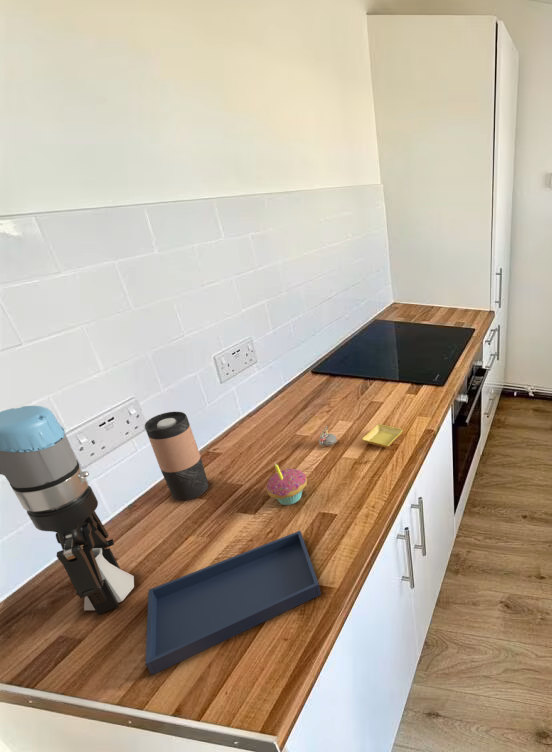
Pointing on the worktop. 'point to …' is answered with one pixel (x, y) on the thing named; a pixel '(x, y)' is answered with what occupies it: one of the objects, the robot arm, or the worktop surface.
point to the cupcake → (286, 485)
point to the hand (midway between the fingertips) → (110, 592)
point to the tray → (226, 600)
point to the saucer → (382, 435)
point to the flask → (111, 579)
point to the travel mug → (177, 455)
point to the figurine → (327, 438)
